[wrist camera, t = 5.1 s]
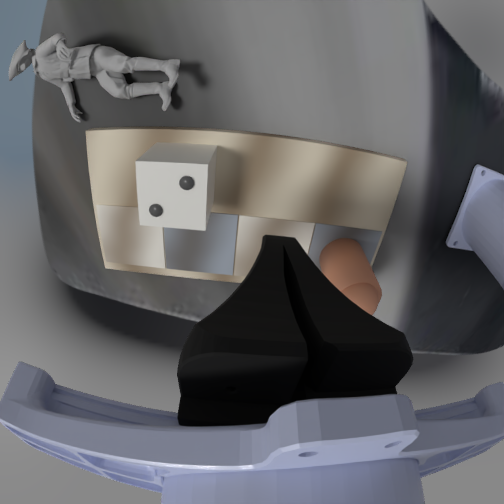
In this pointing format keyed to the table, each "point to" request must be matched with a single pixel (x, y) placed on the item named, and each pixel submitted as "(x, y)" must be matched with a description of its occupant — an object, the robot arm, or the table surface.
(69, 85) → the soldier figure
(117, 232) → the board
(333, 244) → the pawn
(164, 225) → the die
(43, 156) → the table surface
